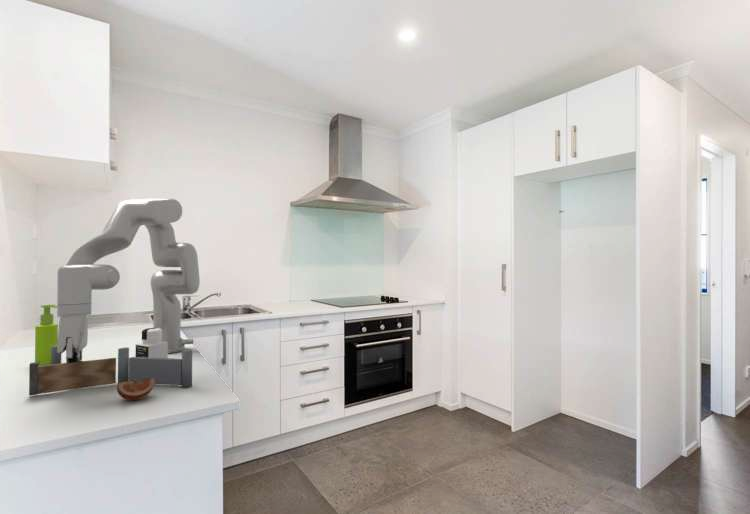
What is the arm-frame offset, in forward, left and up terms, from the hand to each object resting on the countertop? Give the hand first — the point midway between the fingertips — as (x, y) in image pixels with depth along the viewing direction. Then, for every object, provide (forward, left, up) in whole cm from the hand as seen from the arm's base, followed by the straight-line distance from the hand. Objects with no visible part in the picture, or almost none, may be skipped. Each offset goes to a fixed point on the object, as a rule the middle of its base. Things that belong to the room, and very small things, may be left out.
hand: (74, 375), depth 107 cm
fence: (-11, +3, -3) cm, 11 cm away
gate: (0, +3, -3) cm, 4 cm away
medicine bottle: (-19, -18, -3) cm, 26 cm away
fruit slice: (-14, +20, -3) cm, 25 cm away
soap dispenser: (+11, -37, -3) cm, 38 cm away
